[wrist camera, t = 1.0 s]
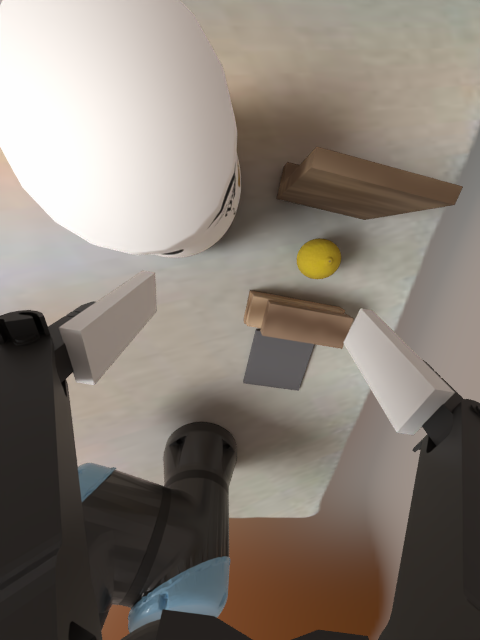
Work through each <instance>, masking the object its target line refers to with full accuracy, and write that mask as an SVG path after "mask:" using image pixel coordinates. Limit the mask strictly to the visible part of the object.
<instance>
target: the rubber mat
mask: <svg viewBox="0 0 480 640" xmlns="http://www.w3.org/2000/svg"><path fill="white" fill-rule="evenodd" d="M313 347H314V344H311V343H305V342H298V341H292V340H286V339H280V338H274V337H268V336H262V334H261V331H260V330H258V329H256V331H255V335H254V339H253V343H252V348H251V352H250V356H249V360H248V364H247V368H246V373H245V377H244V381H243V382H244V383H246V384H254V385H261V386H268V387H276V388H283V389H291V390H298V391H299V388H300V385H301V382H302V379H303V376H304V373H305V370H306V367H307V364H308V361H309V358H310V356H311V353H312V350H313Z"/></svg>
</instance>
